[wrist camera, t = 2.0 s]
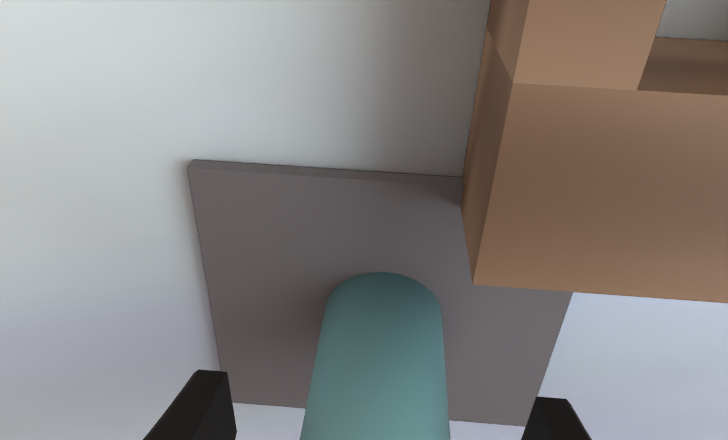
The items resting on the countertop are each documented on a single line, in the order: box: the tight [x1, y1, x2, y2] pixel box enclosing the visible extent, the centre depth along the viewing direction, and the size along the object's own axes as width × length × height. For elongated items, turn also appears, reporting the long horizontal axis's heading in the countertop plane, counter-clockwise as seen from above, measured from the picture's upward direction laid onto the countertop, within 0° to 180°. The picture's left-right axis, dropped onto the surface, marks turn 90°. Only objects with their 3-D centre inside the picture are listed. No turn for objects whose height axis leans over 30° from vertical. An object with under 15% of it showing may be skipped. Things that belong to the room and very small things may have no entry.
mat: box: [187, 160, 573, 426], centre depth 14 cm, size 8×9×1 cm
